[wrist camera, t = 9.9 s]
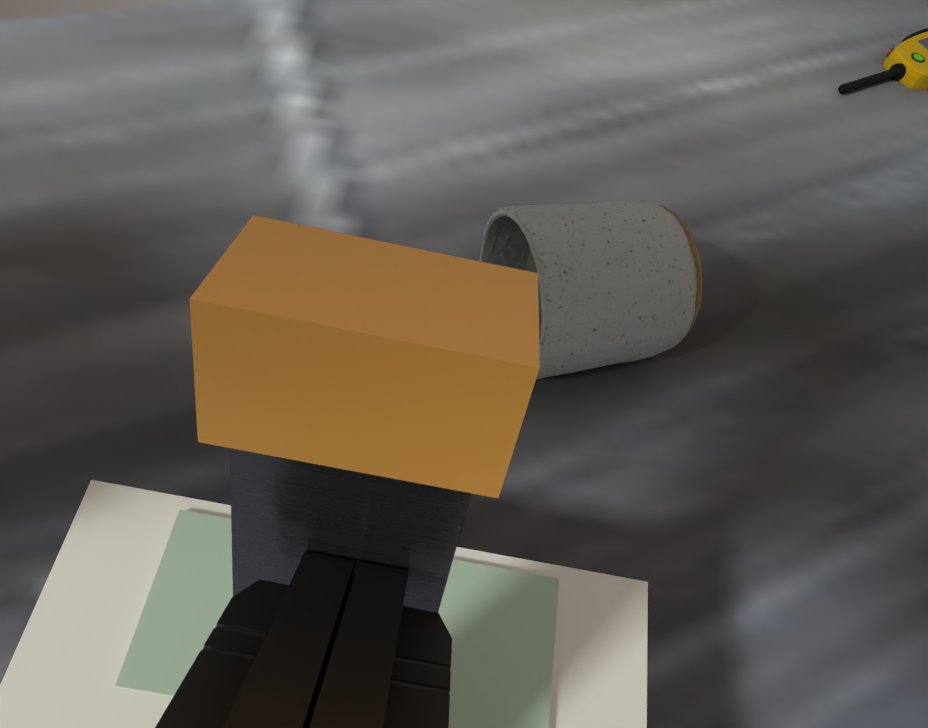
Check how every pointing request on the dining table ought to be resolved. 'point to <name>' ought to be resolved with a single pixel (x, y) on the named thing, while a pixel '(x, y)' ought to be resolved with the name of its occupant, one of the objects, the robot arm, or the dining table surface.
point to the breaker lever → (359, 396)
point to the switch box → (211, 588)
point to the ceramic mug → (601, 278)
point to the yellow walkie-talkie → (901, 65)
